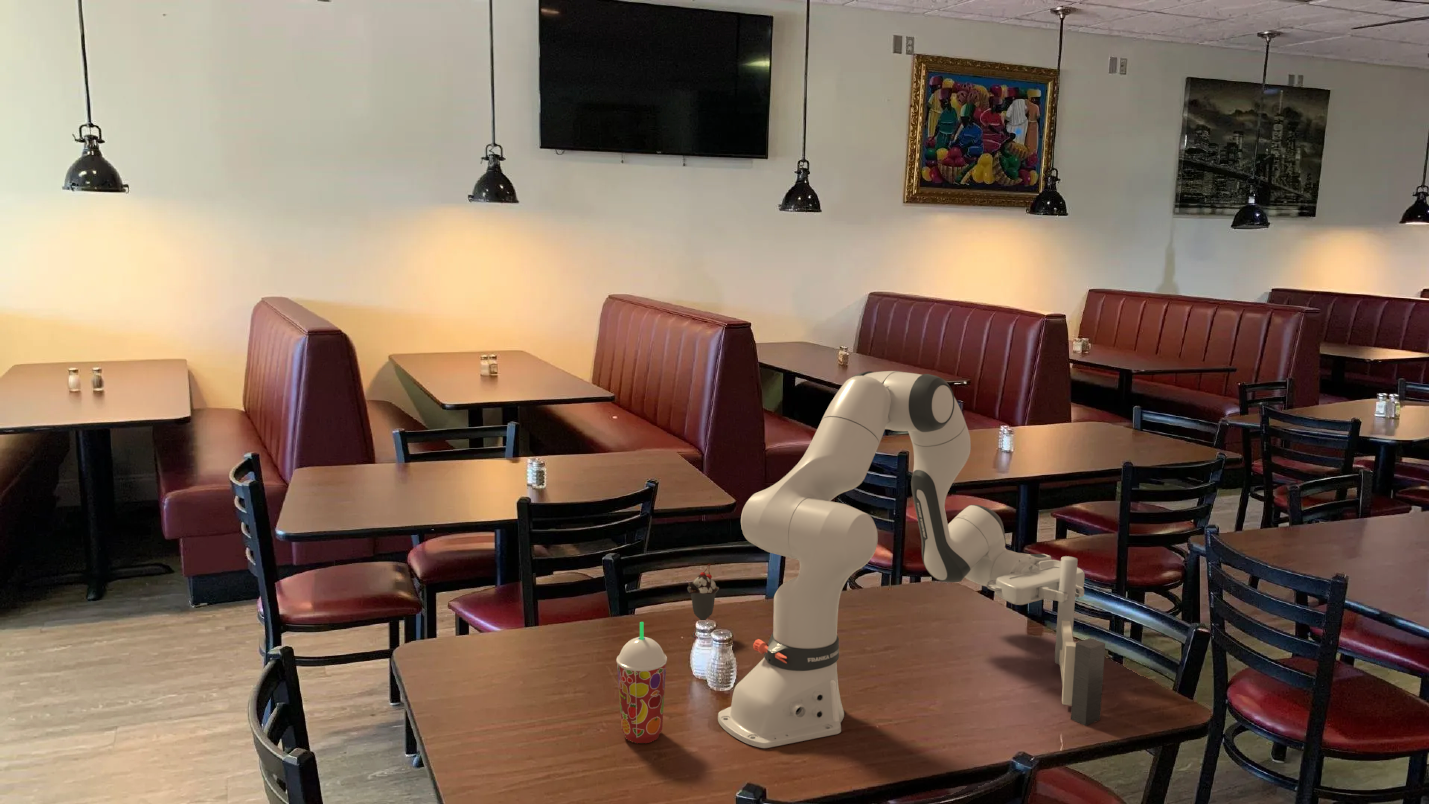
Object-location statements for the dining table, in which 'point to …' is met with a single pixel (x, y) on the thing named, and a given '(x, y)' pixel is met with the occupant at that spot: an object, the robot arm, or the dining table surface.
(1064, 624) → the gate
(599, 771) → the dining table surface
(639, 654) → the smoothie
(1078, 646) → the hinge post
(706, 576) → the sundae
